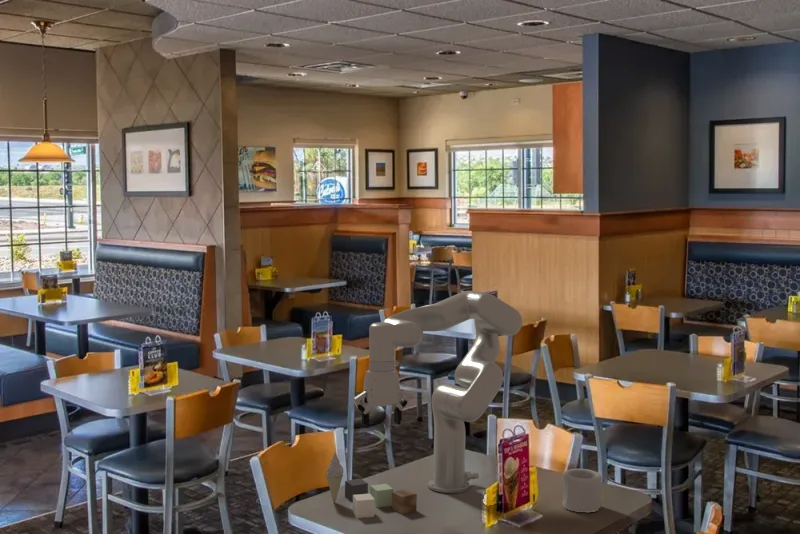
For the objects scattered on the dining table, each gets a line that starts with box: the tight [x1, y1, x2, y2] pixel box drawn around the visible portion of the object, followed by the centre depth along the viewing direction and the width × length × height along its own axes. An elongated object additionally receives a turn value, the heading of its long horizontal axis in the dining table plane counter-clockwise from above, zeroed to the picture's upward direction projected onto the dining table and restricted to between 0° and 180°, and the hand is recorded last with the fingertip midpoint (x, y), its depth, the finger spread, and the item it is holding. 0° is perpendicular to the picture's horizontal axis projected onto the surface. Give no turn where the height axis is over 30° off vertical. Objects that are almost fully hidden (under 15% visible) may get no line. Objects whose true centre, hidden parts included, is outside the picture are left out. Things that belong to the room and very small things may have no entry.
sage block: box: [369, 483, 394, 508], centre depth 256 cm, size 5×5×5 cm
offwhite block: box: [352, 493, 376, 519], centre depth 248 cm, size 5×5×5 cm
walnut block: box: [391, 488, 418, 515], centre depth 252 cm, size 5×5×5 cm
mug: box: [561, 468, 602, 512], centre depth 257 cm, size 14×11×10 cm
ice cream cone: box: [325, 451, 344, 504], centre depth 256 cm, size 5×5×15 cm
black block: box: [344, 478, 369, 503], centre depth 261 cm, size 5×5×5 cm
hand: (381, 424), depth 255 cm, fingers open, 9 cm apart
